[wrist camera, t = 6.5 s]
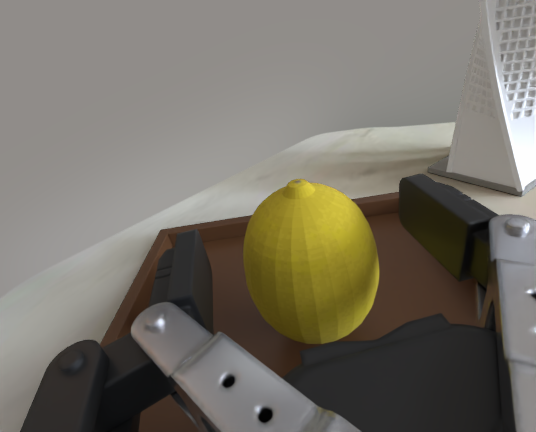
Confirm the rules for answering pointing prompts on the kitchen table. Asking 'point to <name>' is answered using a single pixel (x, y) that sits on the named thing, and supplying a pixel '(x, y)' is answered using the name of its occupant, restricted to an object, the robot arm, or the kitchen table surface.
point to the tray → (262, 333)
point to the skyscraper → (498, 103)
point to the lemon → (311, 262)
